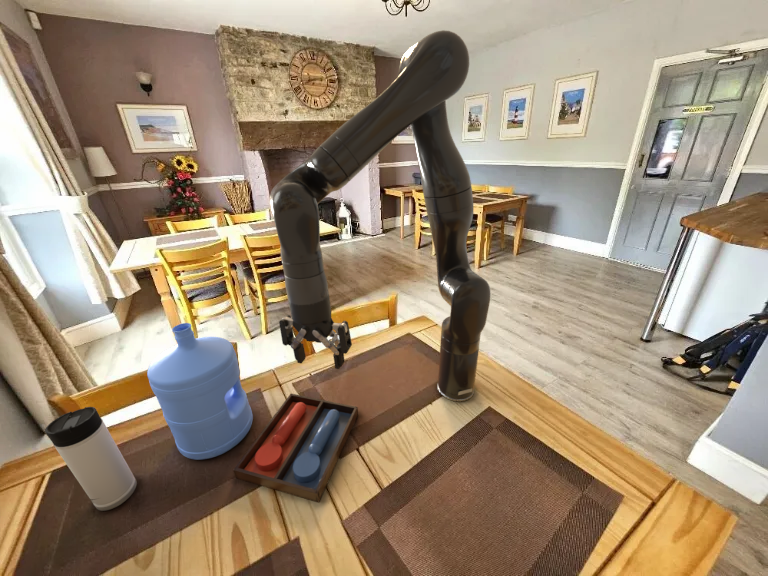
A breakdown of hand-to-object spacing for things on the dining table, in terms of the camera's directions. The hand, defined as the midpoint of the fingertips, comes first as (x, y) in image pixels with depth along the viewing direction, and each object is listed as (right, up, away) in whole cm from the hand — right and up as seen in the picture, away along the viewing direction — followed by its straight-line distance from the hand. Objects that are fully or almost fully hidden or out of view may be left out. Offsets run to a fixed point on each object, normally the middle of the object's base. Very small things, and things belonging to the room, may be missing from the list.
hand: (320, 363), depth 64 cm
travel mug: (-37, -24, -6) cm, 45 cm away
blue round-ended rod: (0, -18, +1) cm, 18 cm away
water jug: (-25, -17, +7) cm, 31 cm away
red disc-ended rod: (-9, -17, +4) cm, 20 cm away
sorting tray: (-4, -18, +3) cm, 19 cm away
